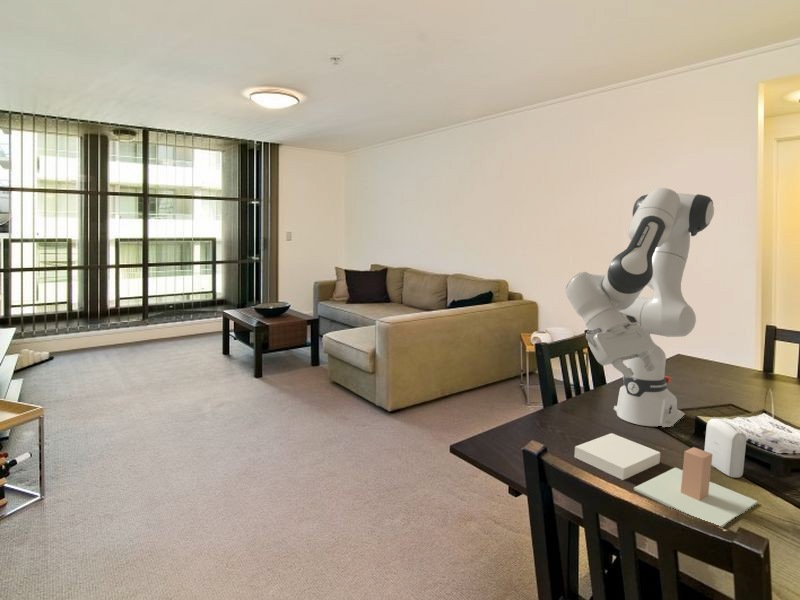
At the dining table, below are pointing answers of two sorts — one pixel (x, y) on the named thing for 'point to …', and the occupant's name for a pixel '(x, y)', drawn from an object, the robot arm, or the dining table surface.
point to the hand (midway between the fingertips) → (641, 373)
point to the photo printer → (726, 447)
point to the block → (696, 473)
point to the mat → (711, 508)
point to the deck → (617, 455)
